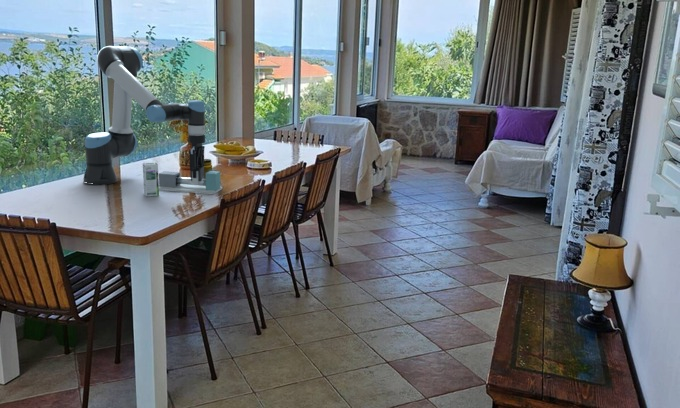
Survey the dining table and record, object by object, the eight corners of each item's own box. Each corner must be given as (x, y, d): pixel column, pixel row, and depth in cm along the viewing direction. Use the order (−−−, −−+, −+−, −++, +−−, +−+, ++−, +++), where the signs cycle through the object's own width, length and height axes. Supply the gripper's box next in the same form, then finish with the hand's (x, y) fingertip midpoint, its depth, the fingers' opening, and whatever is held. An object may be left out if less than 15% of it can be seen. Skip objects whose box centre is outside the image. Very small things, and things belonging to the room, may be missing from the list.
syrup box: (146, 196, 264) (144, 164, 261) (143, 193, 269) (142, 162, 266) (159, 195, 267) (158, 164, 263) (156, 192, 272) (155, 161, 268)
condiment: (215, 184, 294) (215, 160, 292) (198, 185, 290) (198, 161, 287) (209, 181, 300) (209, 158, 297) (193, 182, 296) (193, 159, 293)
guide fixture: (156, 189, 278) (155, 170, 276) (167, 184, 289) (166, 166, 287) (213, 194, 274) (213, 175, 272) (222, 188, 286) (222, 170, 283)
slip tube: (166, 184, 280) (165, 165, 278) (170, 182, 285) (169, 164, 282) (211, 187, 278) (210, 169, 275) (214, 185, 282) (214, 167, 280)
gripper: (197, 137, 266) (198, 187, 272) (211, 132, 282) (211, 180, 288) (181, 136, 267) (182, 186, 273) (196, 131, 283) (196, 179, 289)
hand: (197, 183), depth 280 cm, fingers closed on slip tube, 4 cm apart
